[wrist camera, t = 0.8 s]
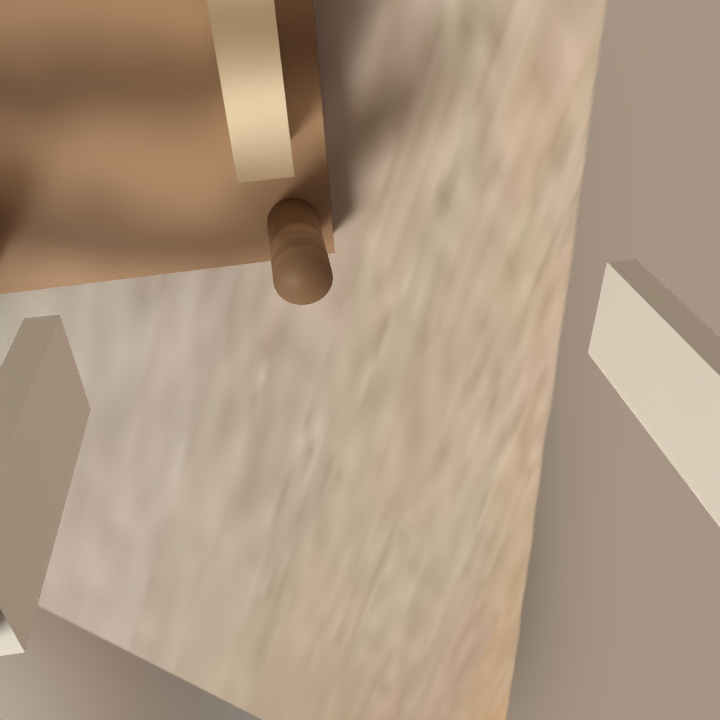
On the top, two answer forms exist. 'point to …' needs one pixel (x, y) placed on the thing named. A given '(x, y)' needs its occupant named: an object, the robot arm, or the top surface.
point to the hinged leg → (252, 87)
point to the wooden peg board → (149, 150)
